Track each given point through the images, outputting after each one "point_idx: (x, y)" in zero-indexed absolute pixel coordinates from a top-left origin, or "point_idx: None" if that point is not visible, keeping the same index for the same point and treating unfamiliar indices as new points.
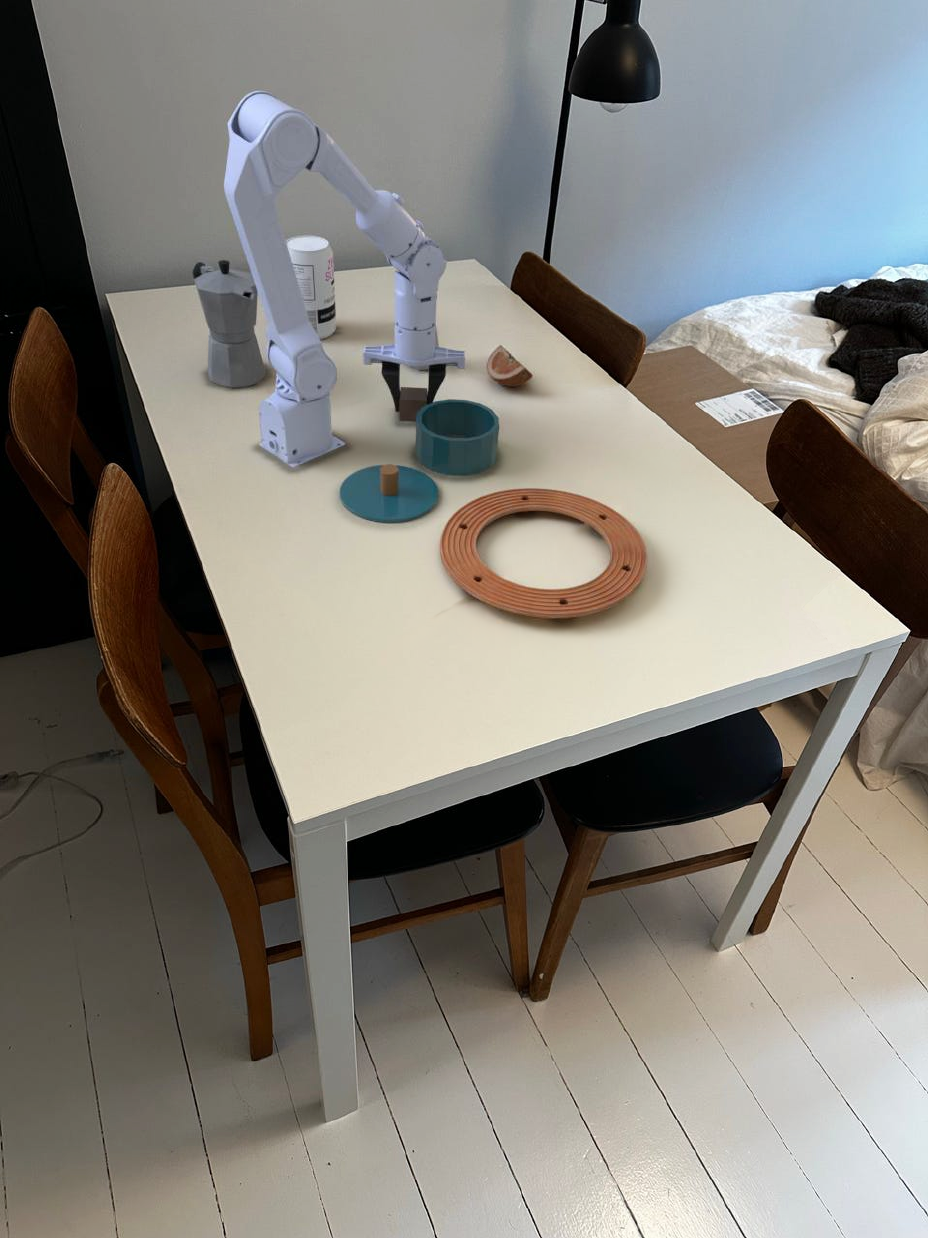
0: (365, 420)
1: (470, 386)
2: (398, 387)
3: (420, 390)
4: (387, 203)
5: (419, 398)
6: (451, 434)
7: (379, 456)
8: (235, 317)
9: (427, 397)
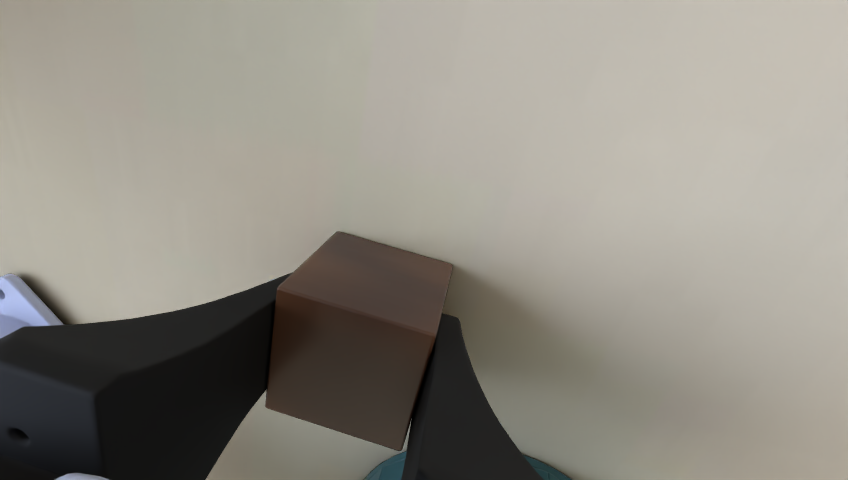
0: (196, 273)
1: (841, 7)
2: (215, 462)
3: (387, 353)
4: None
5: (366, 425)
6: None
7: (248, 472)
8: None
9: (419, 399)
